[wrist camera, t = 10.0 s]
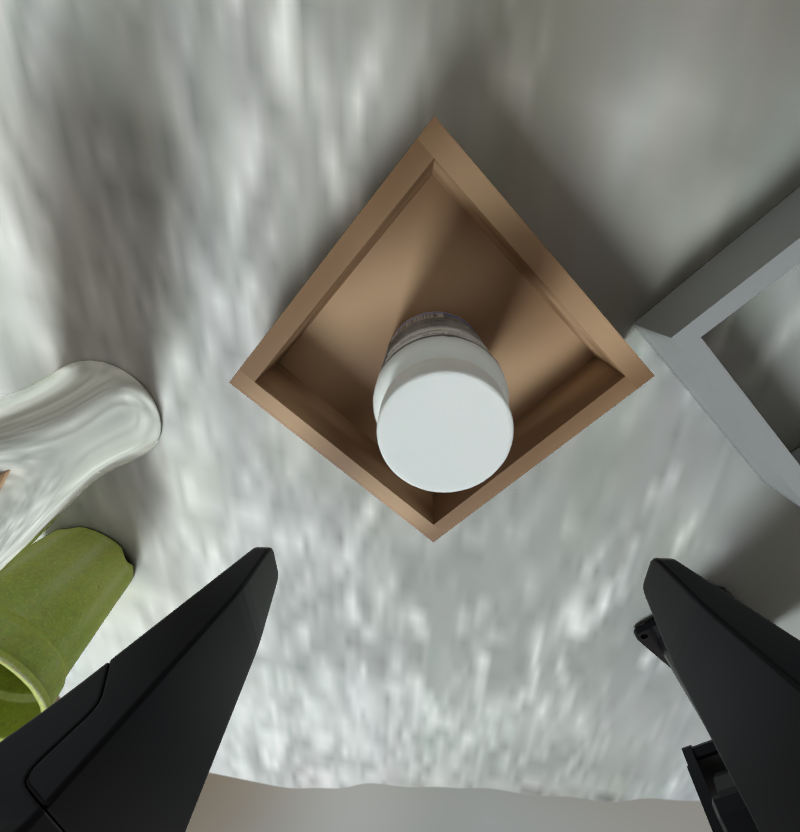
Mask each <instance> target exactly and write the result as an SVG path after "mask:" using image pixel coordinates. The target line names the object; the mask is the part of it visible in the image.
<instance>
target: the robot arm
mask: <svg viewBox="0 0 800 832" xmlns="http://www.w3.org/2000/svg"><path fill="white" fill-rule="evenodd" d="M277 580H278V570H277V565H276V561H275V556H274V552H273V550H272V548H269V547H256V548H254V549H252V550H251V551H249V552H248V553H247V554H246V555H244V556H243V557H242V558H240V559H239V560H238V561H237V562H235V563H234V564H233V565H232V566H230V567H229V568H228V569H226V570H225V571H224V572H223V573H221V574H220V575H219V576H217V577H216V578H215V579H214V580H212V581H211V582H210V583H209V584H207V585H206V586H205V587H203V588H202V589H201V590H200V591H198V592H197V593H196V594H194V595H193V596H192V597H191V598H189V599H188V600H187V601H186V602H184V603H183V604H182V605H180V606H179V607H178V608H177V609H175V610H174V611H173V612H171V613H170V614H169V615H168V616H166V617H165V618H164V619H162V620H161V621H160V622H159V623H157V624H156V625H155V626H154V627H152V628H151V629H150V630H148V631H147V632H146V633H145V634H143V635H142V636H141V637H139V638H138V639H137V640H136V641H134V642H133V643H132V644H131V645H129V646H128V647H127V648H125V649H124V650H123V651H122V652H120V653H119V654H118V655H116V656H115V657H114V658H113V659H111V661H110V663H106V664H105V665H103V666H102V667H101V668H100V669H98V670H97V671H96V672H95V673H93V674H92V675H91V676H89V677H88V678H87V679H86V680H84V681H83V682H82V683H80V684H79V685H78V686H76V687H75V688H74V689H72V690H71V691H70V692H68V693H67V694H66V695H64V696H63V697H62V698H60V699H59V700H58V701H57V702H55V703H54V704H52V705H51V706H50V707H48V708H47V709H45V710H44V711H43V712H41V713H40V714H38V715H37V716H36V717H34V718H33V719H32V720H30V721H29V722H27V723H26V724H25V725H23V726H22V727H20V728H19V729H18V730H16V731H15V732H13V733H12V734H10V735H9V736H8V737H6V738H5V739H3V740H2V741H0V832H185V831H186V829H187V826H188V824H189V821H190V818H191V816H192V813H193V811H194V808H195V806H196V803H197V801H198V798H199V796H200V793H201V791H202V788H203V785H204V783H205V780H206V778H207V776H208V773H209V770H210V768H211V765H212V763H213V760H214V758H215V755H216V753H217V750H218V748H219V745H220V743H221V740H222V738H223V735H224V733H225V730H226V728H227V725H228V723H229V720H230V717H231V715H232V712H233V710H234V707H235V705H236V702H237V700H238V697H239V695H240V692H241V690H242V687H243V685H244V682H245V680H246V677H247V675H248V672H249V670H250V667H251V664H252V662H253V659H254V657H255V654H256V652H257V649H258V646H259V643H260V640H261V637H262V633H263V630H264V626H265V623H266V619H267V616H268V612H269V609H270V605H271V602H272V598H273V595H274V591H275V588H276V584H277ZM643 589H644V594H645V597H646V599H647V602H648V604H649V606H650V609H651V611H652V614H653V616H654V619H653V620H651V621H649V622H647V623H645V624H643V625H641V626H639V627H637V628H636V629H635V630H634V634H635V636H636V638H637V639H638V640H639V641H640V642H641V643H642V644H643V645H644V646H646V647H647V648H648V649H649V650H650V651H651V652H653V653H654V654H655V655H656V656H657V657H658V658H660V659H661V660H662V661H663V662H664V663H666V664H667V665H668V666H669V667H670V668H671V669H672V671H673V673H674V674H675V676H676V678H677V679H678V681H679V683H680V685H681V686H682V688H683V690H684V691H685V693H686V695H687V696H688V698H689V700H690V702H691V703H692V705H693V707H694V708H695V710H696V712H697V713H698V715H699V717H700V719H701V720H702V722H703V724H704V725H705V727H706V729H707V731H708V733H709V735H710V737H711V739H712V740H709V741H707V742H704V743H701V744H698V745H696V746H693V747H692V746H691V745H689V746H687V747H684V748H682V751H683V754H684V756H685V759H686V761H687V764H688V766H687V768H688V771H689V773H690V776H691V778H692V781H693V783H694V786H695V788H696V791H697V793H698V796H699V798H700V801H701V803H702V806H703V808H704V811H705V813H706V816H707V818H708V821H709V823H710V826H711V828H712V831H713V832H800V640H798V639H797V638H795V637H793V636H792V635H790V634H789V633H787V632H786V631H784V630H783V629H781V628H780V627H778V626H776V625H775V624H773V623H772V622H770V621H769V620H767V619H766V618H764V617H763V616H761V615H760V614H758V613H756V612H755V611H753V610H752V609H750V608H749V607H747V606H746V605H744V604H743V603H741V602H739V601H738V600H736V599H735V598H734V597H733V596H732V595H731V594H730V593H729V592H728V591H727V590H726V589H725V588H723V587H716V586H715V585H713V584H712V583H710V582H709V581H707V580H706V579H704V578H702V577H701V576H699V575H698V574H696V573H695V572H693V571H692V570H690V569H689V568H687V567H685V566H684V565H682V564H681V563H679V562H678V561H676V560H674V559H670V558H654V559H653V560H652V561H651V562H650V565H649V568H648V571H647V574H646V577H645V580H644V584H643Z"/></svg>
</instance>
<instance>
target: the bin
mask: <svg viewBox="0 0 800 832" xmlns="http://www.w3.org/2000/svg"><path fill="white" fill-rule="evenodd" d="M798 263H800V187H798V188H797V189H796V190H795V191H794V192H792V193H791V194H790V195H789V196H788V197H786V198H785V199H784V200H783V201H781V202H780V203H779V204H778V205H777V206H775V207H774V208H773V209H772V210H770V211H769V212H768V213H767V214H766V215H764V216H763V217H762V218H761V219H760V220H758V221H757V222H756V223H755V224H753V225H752V226H751V227H750V228H749V229H747V230H746V231H745V232H744V233H743V234H741V235H740V236H739V237H738V238H736V239H735V240H734V241H733V242H732V243H730V244H729V245H728V246H727V247H725V248H724V249H723V250H722V251H721V252H719V253H718V254H717V255H716V256H715V257H713V258H712V259H711V260H710V261H708V262H707V263H706V264H705V265H704V266H702V267H701V268H700V269H699V270H697V271H696V272H695V273H694V274H693V275H691V276H690V277H689V278H688V279H687V280H685V281H684V282H683V283H682V284H680V285H679V286H678V287H677V288H676V289H674V290H673V291H672V292H671V293H670V294H668V295H667V296H666V297H665V298H663V299H662V300H661V301H660V302H659V303H657V304H656V305H655V306H654V307H652V308H651V309H650V310H649V311H648V312H646V313H645V314H644V315H643V316H642V317H640V318H639V319H638V320H637V321H635V322H634V323H633V325H634V326H635V327H636V328H637V330H638V331H639V332H640V333H641V334H642V336H643V337H644V338H645V339H646V340H647V342H648V343H649V344H650V345H651V346H652V348H653V349H654V350H655V351H656V352H657V354H658V355H659V356H660V357H661V359H662V360H663V361H664V362H665V363H666V365H667V366H668V367H669V368H670V369H671V371H672V372H673V373H674V374H675V375H676V377H677V378H678V379H679V380H680V381H681V383H682V384H683V385H684V386H685V388H686V389H687V390H688V391H689V392H690V394H691V395H692V396H693V397H694V398H695V400H696V401H697V402H698V403H699V404H700V406H701V407H702V408H703V409H704V410H705V412H706V413H707V414H708V415H709V417H710V418H711V419H712V420H713V421H714V423H715V424H716V425H717V426H718V427H719V429H720V430H721V431H722V432H723V433H724V435H725V436H726V437H727V438H728V440H729V441H730V442H731V443H732V444H733V446H734V447H735V448H736V449H737V450H738V452H739V453H740V454H741V455H742V456H743V458H744V459H745V460H746V461H747V462H748V464H749V465H750V466H751V467H752V469H753V470H754V471H755V472H756V473H757V475H758V476H759V477H760V478H761V479H762V481H763V482H765V483H766V484H767V485H769V486H770V487H772V488H773V489H775V490H776V491H778V492H779V493H780V494H782V495H783V496H785V497H786V498H788V499H789V500H791V501H792V502H793V503H795V504H796V505H798V506H799V507H800V447H799V448H798V449H796V450H794V451H793V452H791V453H790V452H789V451H788V449H787V448H786V447H785V446H784V444H783V443H782V442H781V440H780V439H779V438H778V436H777V435H776V434H775V433H774V431H773V430H772V429H771V427H770V426H769V425H768V424H767V422H766V421H765V420H764V418H763V417H762V416H761V414H760V413H759V412H758V411H757V409H756V408H755V407H754V405H753V404H752V403H751V402H750V400H749V399H748V398H747V396H746V395H745V394H744V392H743V391H742V390H741V389H740V387H739V386H738V385H737V383H736V382H735V381H734V380H733V378H732V377H731V376H730V374H729V373H728V372H727V370H726V369H725V368H724V367H723V365H722V364H721V363H720V361H719V360H718V359H717V358H716V356H715V355H714V354H713V352H712V351H711V350H710V348H709V347H708V346H707V345H706V343H705V342H704V341H703V339H702V338H701V337H702V336H703V335H704V334H706V333H707V332H708V331H710V330H711V329H712V328H714V327H715V326H716V325H718V324H719V323H720V322H722V321H723V320H724V319H726V318H727V317H728V316H730V315H731V314H732V313H734V312H735V311H736V310H738V309H739V308H740V307H742V306H743V305H744V304H745V303H747V302H748V301H749V300H751V299H752V298H753V297H755V296H756V295H757V294H759V293H760V292H761V291H763V290H764V289H765V288H767V287H768V286H769V285H771V284H772V283H773V282H775V281H776V280H777V279H779V278H780V277H781V276H783V275H784V274H785V273H787V272H788V271H789V270H790V269H792V268H793V267H794V266H796V265H797V264H798Z"/></svg>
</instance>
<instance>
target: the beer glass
mask: <svg viewBox="0 0 800 832" xmlns="http://www.w3.org/2000/svg"><path fill="white" fill-rule="evenodd" d="M160 432H161V420H160V415H159V411H158V408H157V406H156V404H155V402H154V400H153V398H152V397H151V395H150V394H149V393H148V391H147V390H146V389H145V388H144V387H143V386H142V385H141V384H140V383H139V382H138V381H137V380H136V379H135V378H134V377H132V376H131V375H130V374H128V373H127V372H125V371H123V370H121V369H120V368H118V367H115V366H113V365H110V364H107V363H104V362H99V361H78V362H74V363H71V364H68V365H66V366H64V367H62V368H60V369H59V370H57V371H55V372H54V373H52V374H51V375H49V376H47V377H46V378H44V379H42V380H41V381H39V382H37V383H35V384H33V385H31V386H29V387H27V388H24V389H22V390H19V391H17V392H14V393H11V394H7V395H4V396H1V397H0V574H1V573H2V572H3V571H4V570H6V569H7V568H8V567H9V566H10V565H11V564H12V563H13V562H14V561H15V560H16V559H17V558H18V557H19V556H20V555H21V554H22V553H23V552H24V551H25V550H26V549H27V548H28V547H29V546H30V545H31V544H32V543H33V542H34V541H35V540H36V539H37V538H38V537H39V536H40V535H41V534H42V533H43V532H44V531H45V530H46V529H47V528H48V527H49V526H50V525H51V524H52V523H53V521H54V520H55V519H56V518H57V517H58V516H59V515H60V514H61V513H62V512H63V511H64V510H65V509H66V508H67V507H68V506H69V505H70V504H71V503H72V502H73V501H74V500H75V499H76V498H77V497H78V496H79V495H80V494H81V493H82V492H83V491H84V490H85V489H86V488H87V487H88V486H90V485H91V484H92V483H93V482H95V481H96V480H97V479H99V478H100V477H102V476H103V475H105V474H106V473H108V472H110V471H112V470H114V469H116V468H118V467H120V466H122V465H124V464H127V463H129V462H131V461H133V460H135V459H137V458H139V457H141V456H143V455H144V454H146V453H148V452H149V451H150V450H151V449H152V448H153V447H154V446H155V444H156V443H157V441H158V439H159V436H160Z"/></svg>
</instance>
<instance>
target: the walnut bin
mask: <svg viewBox="0 0 800 832" xmlns="http://www.w3.org/2000/svg"><path fill="white" fill-rule="evenodd" d="M426 312H446V313H450V314H453V315H455V316H458V317H460V318H461V319H463V320H464V321H466V322H467V323H468V324H469V325H470V326H471V327H472V328H473V329H474V331H475V332H476V333H477V335H478V336H479V337H480V339H481V340H482V342H483V343H484V345H485V346H486V348H487V349H488V351H489V352H490V354H491V355H492V356H493V357H494V359H496V360H497V362H498V364H499V365H500V367H501V369H502V371H503V373H504V376H505V379H506V382H507V385H508V392H509V407H510V410H511V413H512V417H513V424H514V435H513V441H512V445H511V448H510V451H509V453H508V455H507V458H506V459H505V461H504V462H503V464H502V465H501V466H500V467H499V468H498V470H497V471H496V472H495V473H493V474H492V475H491V476H490V477H489V478H487V479H486V480H485V481H483V482H481V483H480V484H478V485H476V486H473V487H471V488H468V489H465V490H461V491H456V492H433V491H427V490H424V489H420V488H418V487H415V486H413V485H411V484H409V483H407V482H406V481H404V480H403V479H401V478H400V477H399V476H397V475H396V474H395V473H394V472H393V471H392V470H391V468H390V467H389V466H388V465H387V463H386V462H385V460H384V458H383V456H382V454H381V451H380V449H379V445H378V440H377V422H376V419H375V415H374V408H373V395H374V390H375V386H376V382H377V379H378V376H379V372H380V369H381V367H382V363H383V361H384V358H385V354H386V351H387V348H388V344H389V342H390V340H391V338H392V337H393V335H394V334H395V332H396V331H397V330H398V328H399V327H400V326H401V325H402V324H403V323H405V322H406V321H407V320H409V319H410V318H412V317H414V316H416V315H419V314H422V313H426ZM652 377H654V374H653V373H652V372H651V371H650V370H649V368H648V367H647V366H646V365H645V364H644V363H643V361H642V360H641V359H640V358H639V357H638V356H637V354H636V353H635V352H634V351H633V350H632V348H631V347H630V346H629V345H628V344H627V343H626V341H625V340H624V339H623V338H622V337H621V335H620V334H619V333H618V332H617V331H616V330H615V328H614V327H613V326H612V325H611V324H610V323H609V321H608V320H607V319H606V318H605V317H604V315H603V314H602V313H601V312H600V311H599V310H598V308H597V307H596V306H595V305H594V304H593V302H592V301H591V300H590V299H589V298H588V297H587V295H586V294H585V293H584V292H583V291H582V290H581V288H580V287H579V286H578V285H577V284H576V282H575V281H574V280H573V279H572V278H571V277H570V275H569V274H568V273H567V272H566V271H565V269H564V268H563V267H562V266H561V265H560V264H559V262H558V261H557V260H556V259H555V258H554V256H553V255H552V254H551V253H550V252H549V251H548V249H547V248H546V247H545V246H544V245H543V244H542V242H541V241H540V240H539V239H538V238H537V236H536V235H535V234H534V233H533V232H532V231H531V229H530V228H529V227H528V226H527V225H526V223H525V222H524V221H523V220H522V219H521V218H520V216H519V215H518V214H517V213H516V212H515V211H514V209H513V208H512V207H511V206H510V205H509V203H508V202H507V201H506V200H505V199H504V198H503V196H502V195H501V194H500V193H499V192H498V190H497V189H496V188H495V187H494V186H493V185H492V183H491V182H490V181H489V180H488V179H487V177H486V176H485V175H484V174H483V173H482V172H481V170H480V169H479V168H478V167H477V166H476V165H475V163H474V162H473V161H472V160H471V159H470V157H469V156H468V155H467V154H466V153H465V152H464V150H463V149H462V148H461V147H460V146H459V144H458V143H457V142H456V141H455V140H454V139H453V137H452V136H451V135H450V134H449V133H448V132H447V130H446V129H445V128H444V127H443V126H442V124H441V123H440V122H439V121H438V120H437V119H436V117H435V116H434V117H433V118H432V120H431V121H430V122H429V123H428V125H427V126H426V127H425V129H424V130H423V131H422V133H421V134H420V135H419V136H418V138H417V139H416V140H415V142H414V143H413V144H412V146H411V147H410V148H409V149H408V151H407V152H406V153H405V155H404V156H403V157H402V159H401V160H400V161H399V162H398V164H397V165H396V166H395V168H394V169H393V170H392V172H391V173H390V174H389V175H388V177H387V178H386V179H385V181H384V182H383V183H382V185H381V186H380V187H379V188H378V190H377V191H376V192H375V194H374V195H373V196H372V198H371V199H370V200H369V201H368V203H367V204H366V205H365V207H364V208H363V209H362V211H361V212H360V213H359V214H358V216H357V217H356V218H355V220H354V221H353V222H352V224H351V225H350V226H349V227H348V229H347V230H346V231H345V233H344V234H343V235H342V236H341V238H340V239H339V240H338V242H337V243H336V244H335V246H334V247H333V248H332V249H331V251H330V252H329V253H328V255H327V256H326V257H325V259H324V260H323V261H322V262H321V264H320V265H319V266H318V268H317V269H316V270H315V272H314V273H313V274H312V275H311V277H310V278H309V279H308V281H307V282H306V283H305V285H304V286H303V287H302V288H301V290H300V291H299V292H298V294H297V295H296V296H295V298H294V299H293V300H292V301H291V303H290V304H289V305H288V307H287V308H286V309H285V311H284V312H283V313H282V314H281V316H280V317H279V318H278V320H277V321H276V322H275V324H274V325H273V326H272V327H271V329H270V330H269V331H268V333H267V334H266V335H265V337H264V338H263V339H262V340H261V342H260V343H259V344H258V346H257V347H256V348H255V350H254V351H253V352H252V353H251V355H250V356H249V357H248V359H247V360H246V361H245V362H244V364H243V365H242V366H241V368H240V369H239V370H238V372H237V373H236V374H235V375H234V377H233V378H232V379H231V381H230V382H229V383H231V384H232V385H233V386H234V387H236V388H237V389H238V390H240V391H241V392H242V393H243V394H245V395H246V396H247V397H249V398H250V399H251V400H252V401H254V402H255V403H256V404H258V405H259V406H260V407H261V408H263V409H264V410H265V411H266V412H268V413H269V414H270V415H272V416H273V417H274V418H275V419H277V420H278V421H279V422H281V423H282V424H283V425H284V426H286V427H287V428H288V429H289V430H291V431H292V432H293V433H295V434H296V435H297V436H298V437H300V438H301V439H302V440H304V441H305V442H306V443H307V444H309V445H310V446H311V447H313V448H314V449H315V450H316V451H318V452H319V453H320V454H321V455H323V456H324V457H325V458H327V459H328V460H329V461H330V462H332V463H333V464H334V465H336V466H337V467H338V468H339V469H341V470H342V471H343V472H344V473H346V474H347V475H348V476H350V477H351V478H352V479H353V480H355V481H356V482H357V483H359V484H360V485H361V486H362V487H364V488H365V489H366V490H368V491H369V492H370V493H371V494H373V495H374V496H375V497H376V498H378V499H379V500H380V501H382V502H383V503H384V504H385V505H387V506H388V507H389V508H391V509H392V510H393V511H394V512H396V513H397V514H398V515H400V516H401V517H402V518H403V519H405V520H406V521H407V522H408V523H410V524H411V525H412V526H414V527H415V528H416V529H417V530H419V531H420V532H421V533H423V534H424V535H425V536H426V537H428V538H429V539H430V540H431V541H433V542H434V541H436V540H437V539H438V538H440V537H441V536H442V535H444V534H445V533H446V532H448V531H449V530H450V529H452V528H453V527H454V526H456V525H457V524H458V523H460V522H461V521H462V520H464V519H465V518H466V517H468V516H469V515H470V514H472V513H473V512H474V511H475V510H477V509H478V508H479V507H481V506H482V505H483V504H485V503H486V502H487V501H489V500H490V499H491V498H493V497H494V496H495V495H497V494H498V493H499V492H501V491H502V490H503V489H505V488H506V487H507V486H509V485H510V484H511V483H513V482H514V481H515V480H517V479H518V478H519V477H521V476H522V475H523V474H525V473H526V472H527V471H529V470H530V469H531V468H533V467H534V466H535V465H537V464H538V463H539V462H541V461H542V460H543V459H545V458H546V457H547V456H549V455H550V454H551V453H553V452H554V451H555V450H557V449H558V448H559V447H561V446H562V445H563V444H565V443H566V442H567V441H569V440H570V439H571V438H573V437H574V436H575V435H577V434H578V433H579V432H581V431H582V430H583V429H585V428H586V427H587V426H589V425H590V424H591V423H593V422H594V421H595V420H597V419H598V418H599V417H601V416H602V415H603V414H605V413H606V412H607V411H609V410H610V409H611V408H613V407H614V406H615V405H616V404H618V403H619V402H620V401H622V400H623V399H624V398H626V397H627V396H628V395H630V394H631V393H632V392H634V391H635V390H636V389H638V388H639V387H640V386H642V385H643V384H644V383H646V382H647V381H648V380H650V379H651V378H652Z"/></svg>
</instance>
